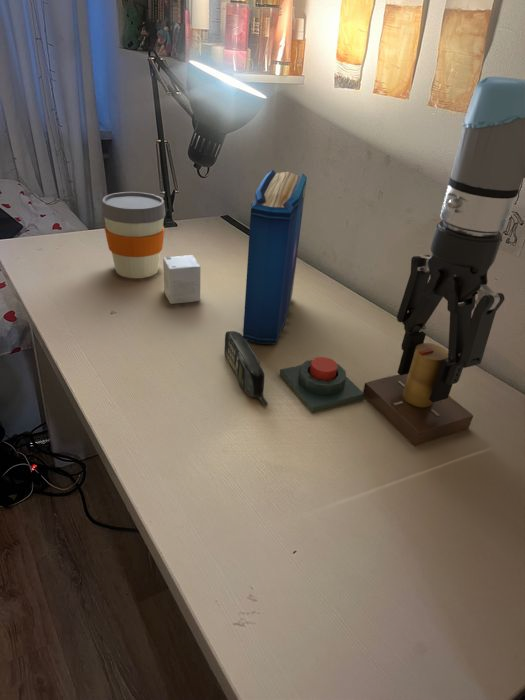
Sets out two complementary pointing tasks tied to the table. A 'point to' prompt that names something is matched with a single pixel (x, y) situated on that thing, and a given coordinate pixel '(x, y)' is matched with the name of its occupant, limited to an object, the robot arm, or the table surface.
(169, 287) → the white cardboard box
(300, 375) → the push button base
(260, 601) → the table surface
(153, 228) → the reusable coffee cup
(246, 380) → the mobile phone
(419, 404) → the lock knob
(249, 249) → the book
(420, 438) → the plate
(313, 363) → the bell button
